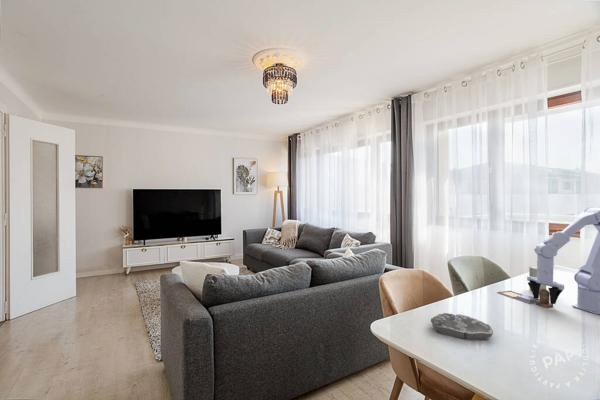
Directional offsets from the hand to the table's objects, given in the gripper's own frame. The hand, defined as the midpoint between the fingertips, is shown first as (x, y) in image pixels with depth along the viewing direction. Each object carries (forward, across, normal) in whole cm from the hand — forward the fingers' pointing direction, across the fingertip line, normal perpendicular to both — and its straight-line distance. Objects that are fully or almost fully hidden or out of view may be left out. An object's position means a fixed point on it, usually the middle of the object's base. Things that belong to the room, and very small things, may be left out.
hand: (544, 301), depth 136 cm
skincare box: (+2, -16, +18) cm, 24 cm away
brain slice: (+3, +11, -56) cm, 58 cm away
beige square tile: (+2, -15, 0) cm, 15 cm away
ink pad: (+2, -7, 0) cm, 7 cm away
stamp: (+2, 0, 0) cm, 2 cm away
